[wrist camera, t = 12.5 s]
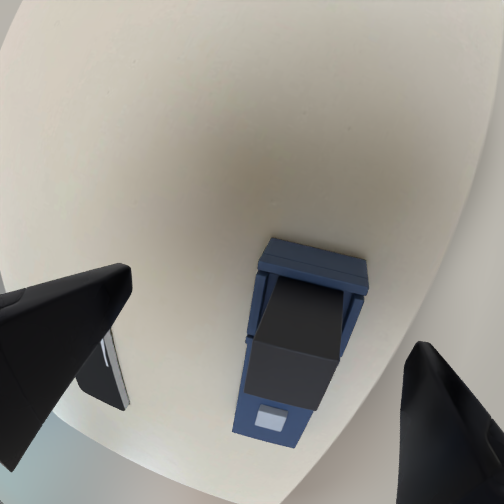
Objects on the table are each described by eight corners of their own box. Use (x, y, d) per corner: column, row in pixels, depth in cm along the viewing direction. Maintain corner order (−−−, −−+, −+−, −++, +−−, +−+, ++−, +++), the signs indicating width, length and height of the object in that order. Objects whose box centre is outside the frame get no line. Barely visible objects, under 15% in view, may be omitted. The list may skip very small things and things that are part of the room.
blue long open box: (366, 259, 20) (369, 287, 17) (299, 429, 29) (292, 456, 26) (271, 236, 21) (258, 260, 18) (238, 413, 30) (228, 439, 27)
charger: (344, 291, 19) (339, 361, 13) (326, 340, 20) (316, 411, 15) (277, 274, 19) (251, 339, 14) (267, 325, 21) (241, 392, 16)
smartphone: (80, 390, 37) (49, 303, 30) (86, 384, 38) (57, 297, 31) (126, 412, 35) (100, 325, 28) (131, 405, 36) (108, 318, 29)
